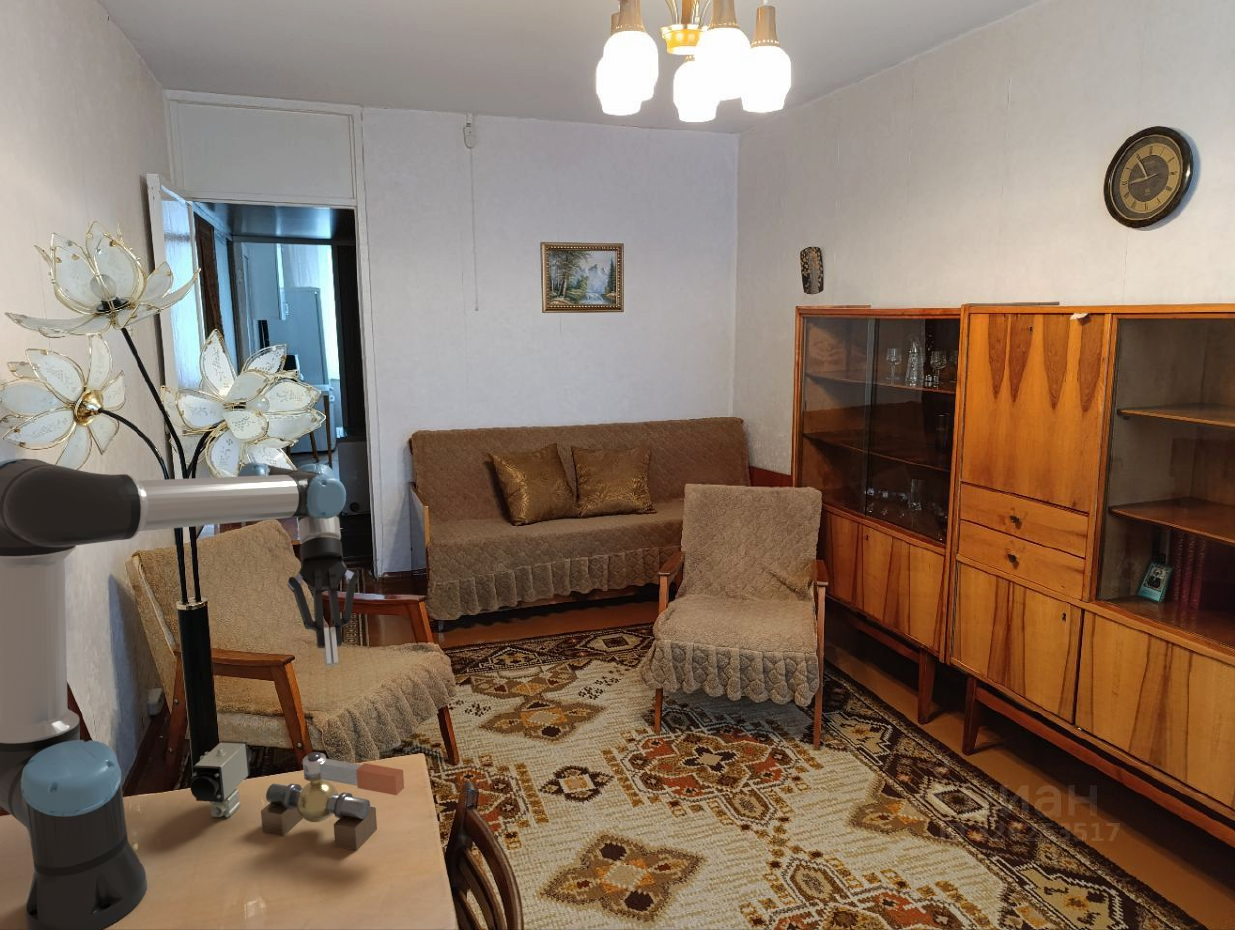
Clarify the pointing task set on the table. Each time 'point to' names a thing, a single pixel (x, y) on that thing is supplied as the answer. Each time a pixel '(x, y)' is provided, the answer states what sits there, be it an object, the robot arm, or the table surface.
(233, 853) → the table surface
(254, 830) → the table surface
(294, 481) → the robot arm
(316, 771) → the valve lever
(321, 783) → the valve stand
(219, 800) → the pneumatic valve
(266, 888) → the table surface
